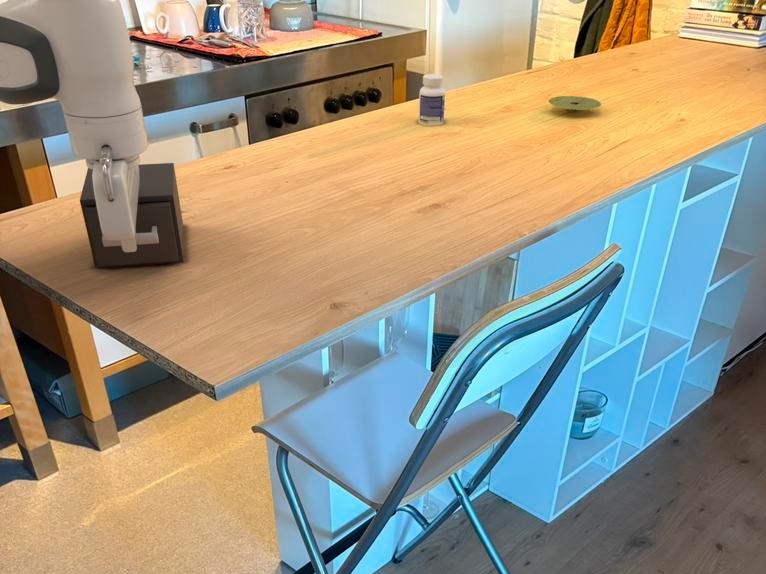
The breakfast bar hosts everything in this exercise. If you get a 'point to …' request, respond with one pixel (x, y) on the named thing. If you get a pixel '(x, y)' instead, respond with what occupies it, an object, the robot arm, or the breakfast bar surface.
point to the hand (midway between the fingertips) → (130, 247)
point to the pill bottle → (431, 101)
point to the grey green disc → (574, 103)
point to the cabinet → (153, 187)
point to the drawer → (138, 237)
